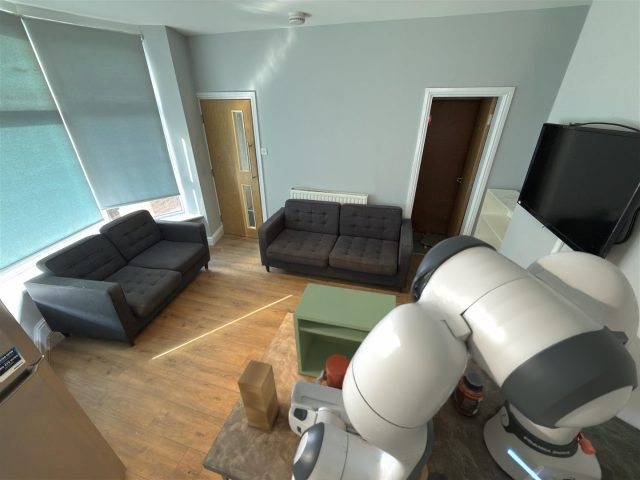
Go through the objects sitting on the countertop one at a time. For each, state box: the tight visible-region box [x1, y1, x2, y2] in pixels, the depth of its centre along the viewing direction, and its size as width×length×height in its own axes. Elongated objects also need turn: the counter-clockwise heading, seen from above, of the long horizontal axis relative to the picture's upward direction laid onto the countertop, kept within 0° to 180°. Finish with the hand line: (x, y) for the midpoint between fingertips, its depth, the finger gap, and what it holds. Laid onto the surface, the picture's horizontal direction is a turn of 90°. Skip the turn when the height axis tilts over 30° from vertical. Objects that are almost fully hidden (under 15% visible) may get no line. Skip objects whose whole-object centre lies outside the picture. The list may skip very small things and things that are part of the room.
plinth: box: [237, 359, 280, 432], centre depth 66 cm, size 6×6×18 cm
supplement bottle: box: [452, 371, 486, 416], centre depth 69 cm, size 6×6×11 cm
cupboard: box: [292, 282, 397, 379], centre depth 78 cm, size 14×26×24 cm, turn 75°
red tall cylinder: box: [326, 355, 349, 390], centre depth 69 cm, size 6×6×12 cm
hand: (338, 374), depth 69 cm, fingers closed on red tall cylinder, 6 cm apart
